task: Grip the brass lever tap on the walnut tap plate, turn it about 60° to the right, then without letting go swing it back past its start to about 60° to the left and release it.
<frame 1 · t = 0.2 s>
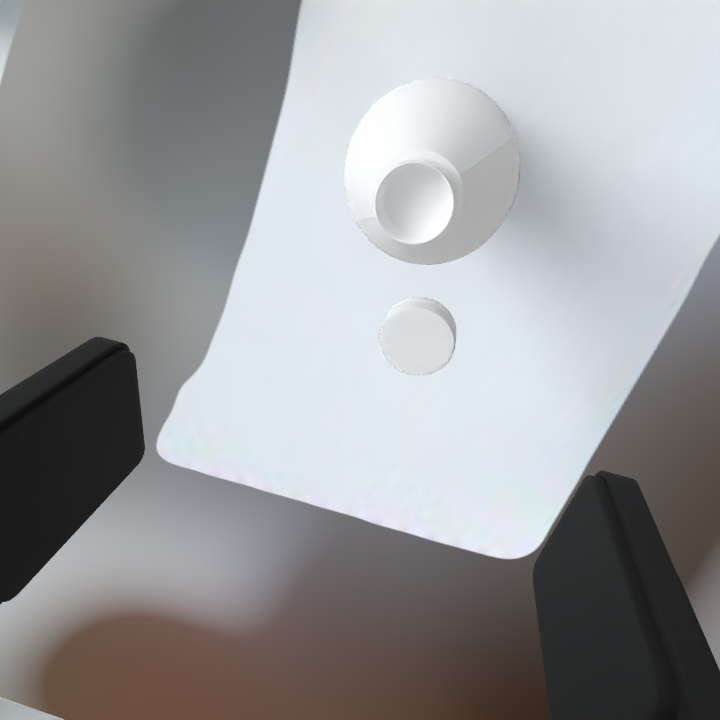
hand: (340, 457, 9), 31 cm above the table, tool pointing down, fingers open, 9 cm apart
water bottle: (451, 156, 35), on the table
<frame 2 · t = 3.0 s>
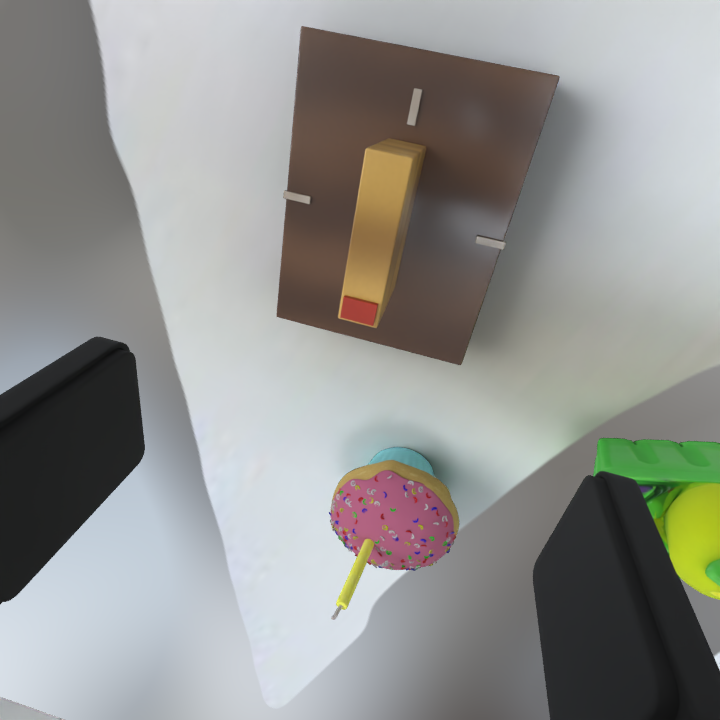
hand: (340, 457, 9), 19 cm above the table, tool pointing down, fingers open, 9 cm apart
cupcake: (402, 468, 34), on the table
fruit basket: (670, 461, 29), on the table
tap plate: (400, 206, 25), on the table
tap handle: (382, 232, 20), point 6 cm above the table, hinge at 0.0°
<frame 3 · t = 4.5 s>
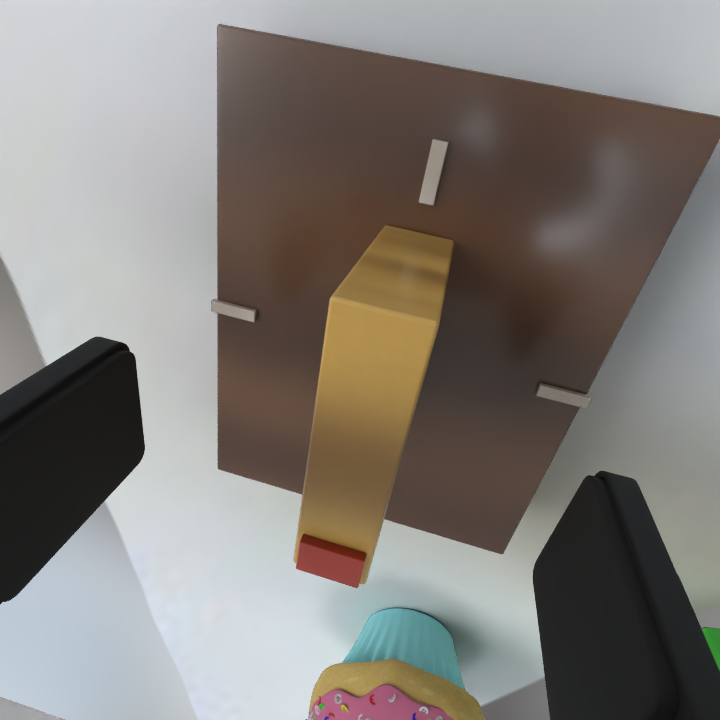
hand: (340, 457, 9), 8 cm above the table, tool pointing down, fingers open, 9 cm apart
cupcake: (410, 629, 25), on the table
tap plate: (406, 309, 16), on the table
tap handle: (374, 401, 11), point 6 cm above the table, hinge at 0.0°
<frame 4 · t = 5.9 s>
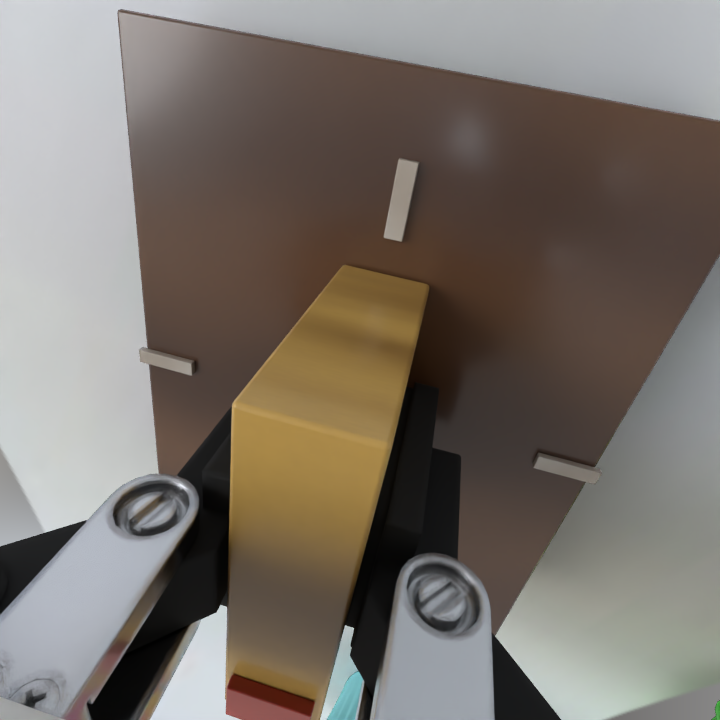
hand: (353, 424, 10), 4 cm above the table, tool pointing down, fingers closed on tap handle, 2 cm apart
cupcake: (395, 689, 23), on the table
tap plate: (380, 352, 13), on the table
tap handle: (328, 491, 9), point 6 cm above the table, hinge at 0.0°, touching gripper
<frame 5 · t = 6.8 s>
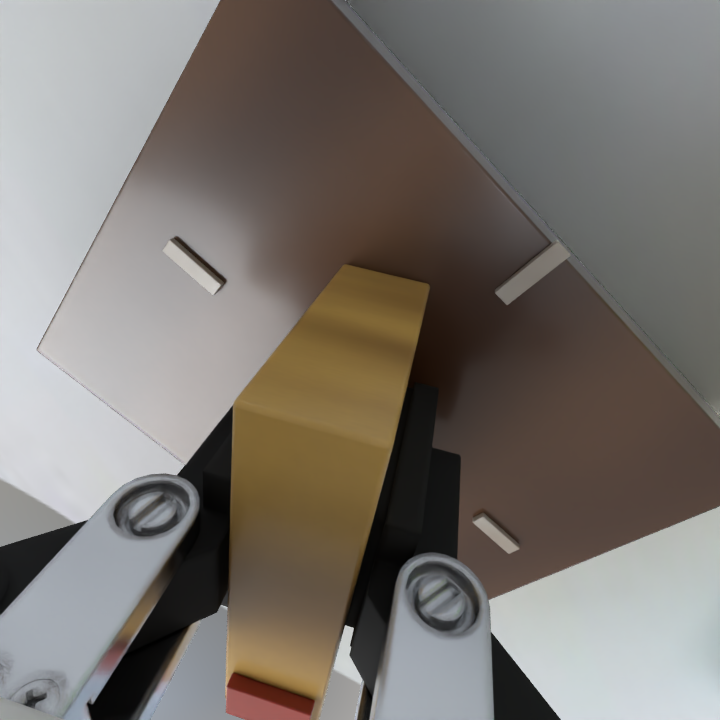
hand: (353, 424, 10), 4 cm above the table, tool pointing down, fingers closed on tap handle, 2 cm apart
tap plate: (380, 351, 13), on the table
tap handle: (328, 490, 9), point 6 cm above the table, hinge at -57.4°, touching gripper
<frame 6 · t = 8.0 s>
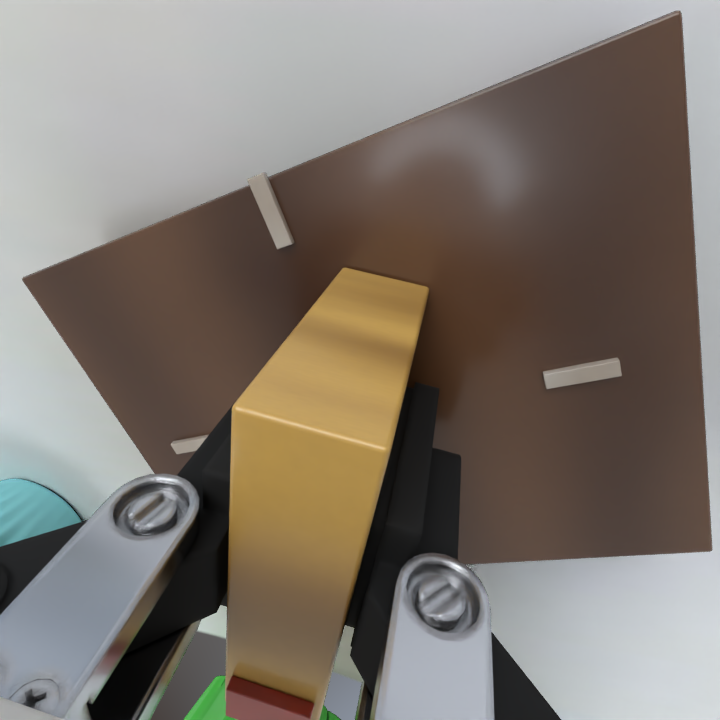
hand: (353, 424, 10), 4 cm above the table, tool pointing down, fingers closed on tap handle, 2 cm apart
cupcake: (47, 512, 22), on the table
fruit basket: (305, 707, 26), on the table
tap plate: (380, 353, 13), on the table
tap handle: (328, 493, 9), point 6 cm above the table, hinge at 60.0°, touching gripper
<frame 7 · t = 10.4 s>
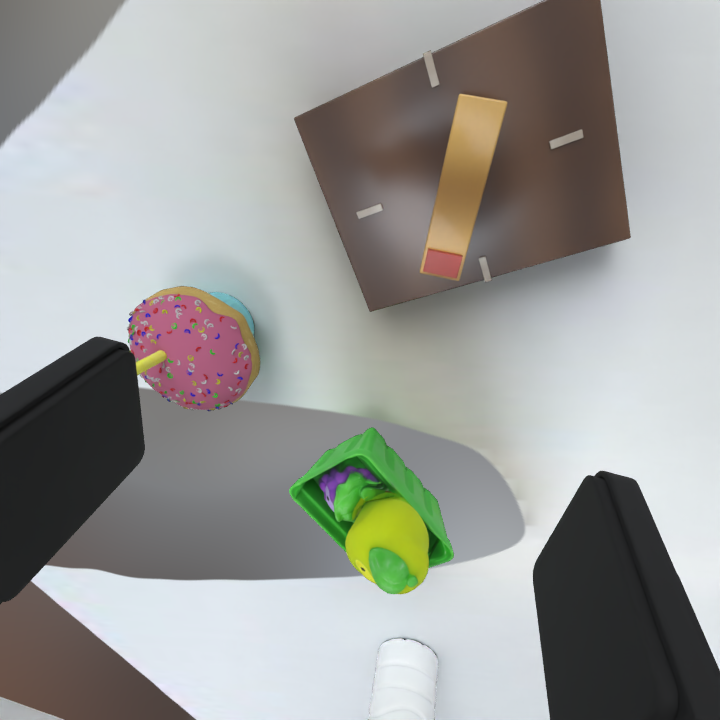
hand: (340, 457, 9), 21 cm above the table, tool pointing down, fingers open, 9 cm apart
cupcake: (227, 321, 34), on the table
fruit basket: (387, 471, 38), on the table
water bottle: (401, 655, 50), on the table
tap plate: (461, 169, 25), on the table
tap handle: (459, 186, 20), point 6 cm above the table, hinge at 60.2°
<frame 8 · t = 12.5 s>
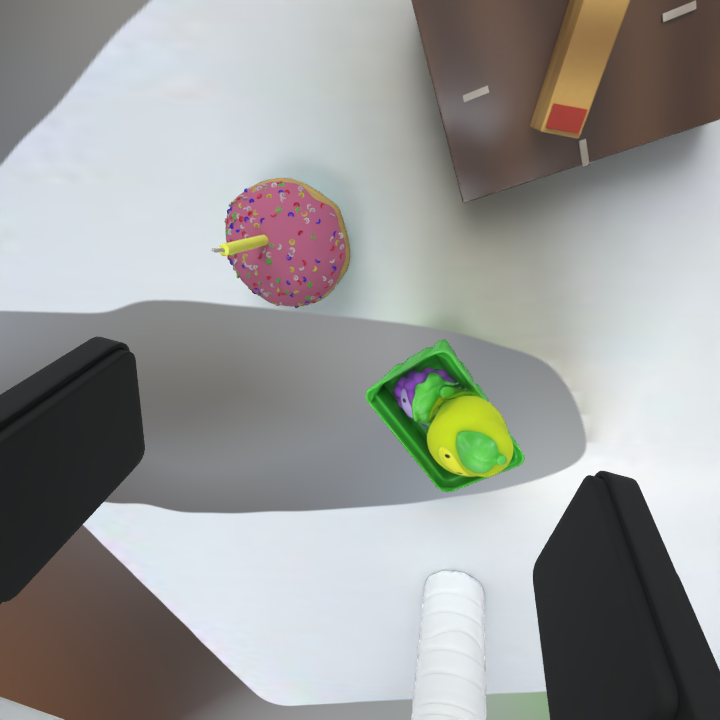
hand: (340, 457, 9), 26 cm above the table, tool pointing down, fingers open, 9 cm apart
cupcake: (308, 229, 35), on the table
fruit basket: (453, 387, 39), on the table
water bottle: (446, 589, 51), on the table
tap plate: (560, 60, 26), on the table
tap handle: (579, 51, 22), point 6 cm above the table, hinge at 60.2°
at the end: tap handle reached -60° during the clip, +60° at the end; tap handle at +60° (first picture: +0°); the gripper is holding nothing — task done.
